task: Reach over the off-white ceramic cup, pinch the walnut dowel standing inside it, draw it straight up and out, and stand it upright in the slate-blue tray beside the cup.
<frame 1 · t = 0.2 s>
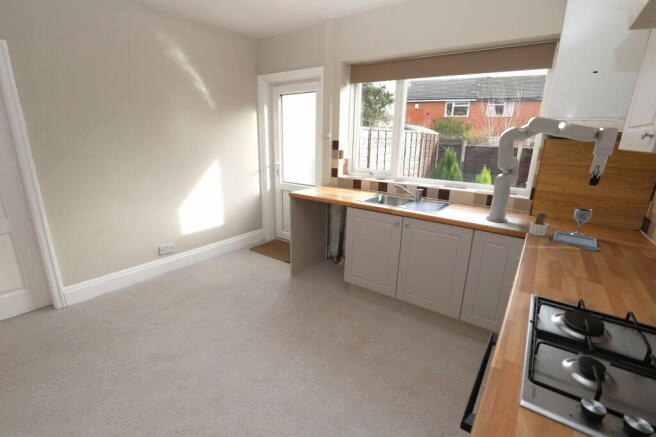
hand: (593, 184, 163), 31 cm above the worktop, tool pointing down, fingers open, 9 cm apart
tray: (573, 242, 165), on the worktop
dowel: (537, 233, 175), point 1 cm above the worktop, touching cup
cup: (536, 235, 175), on the worktop
wine glass: (577, 234, 179), on the worktop
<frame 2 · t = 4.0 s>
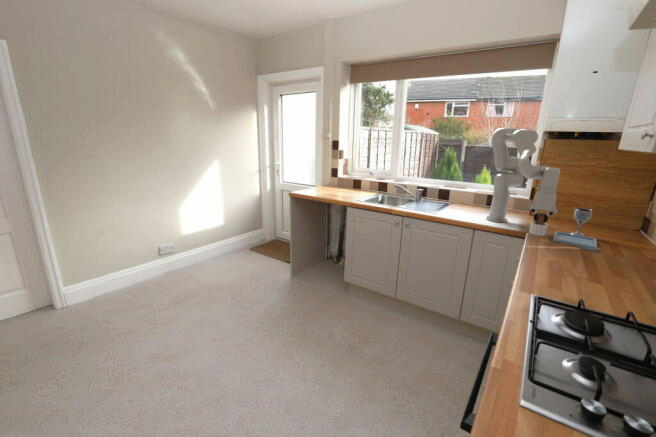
hand: (539, 221, 173), 8 cm above the worktop, tool pointing down, fingers closed on dowel, 4 cm apart
dowel: (537, 233, 175), point 1 cm above the worktop, touching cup, gripper
everything else where it was.
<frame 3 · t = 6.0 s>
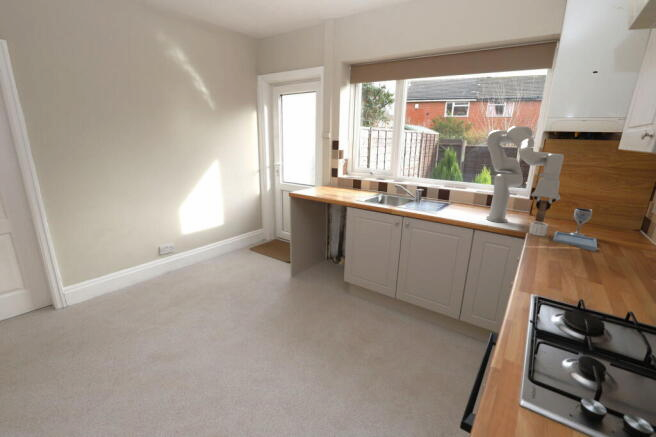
hand: (542, 208, 171), 16 cm above the worktop, tool pointing down, fingers closed on dowel, 4 cm apart
dowel: (539, 220, 173), point 8 cm above the worktop, touching gripper
everything else where it was.
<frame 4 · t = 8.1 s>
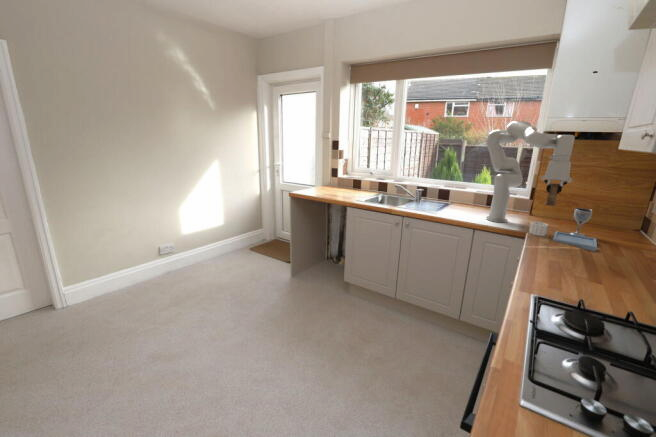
hand: (553, 192, 166), 26 cm above the worktop, tool pointing down, fingers closed on dowel, 4 cm apart
dowel: (550, 205, 168), point 18 cm above the worktop, touching gripper
everything else where it was.
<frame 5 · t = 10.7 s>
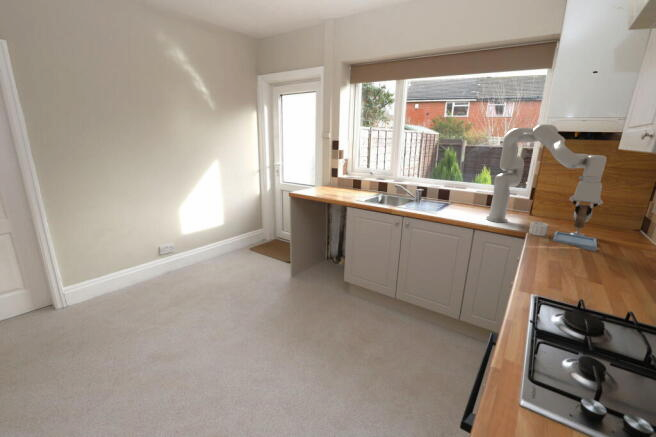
hand: (582, 213, 160), 16 cm above the worktop, tool pointing down, fingers closed on dowel, 4 cm apart
dowel: (578, 226, 162), point 9 cm above the worktop, touching gripper
everything else where it was.
when the fingers open (10 cm above the worktop, at t = 12.6 s): dowel drops 1 cm, resting on tray.
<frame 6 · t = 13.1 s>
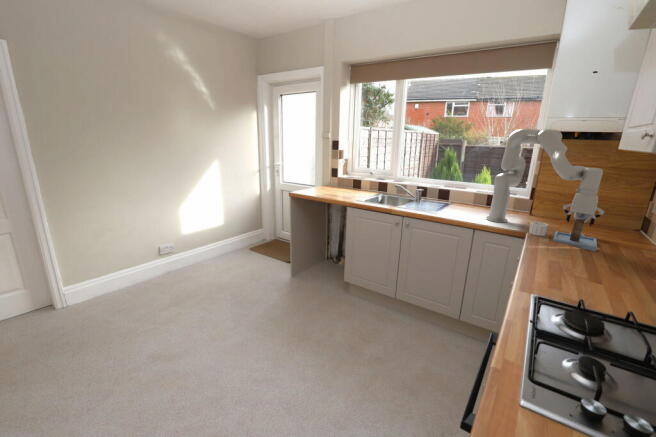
hand: (578, 223, 162), 11 cm above the worktop, tool pointing down, fingers open, 9 cm apart
dowel: (574, 240, 164), point 1 cm above the worktop, touching tray
everything else where it was.
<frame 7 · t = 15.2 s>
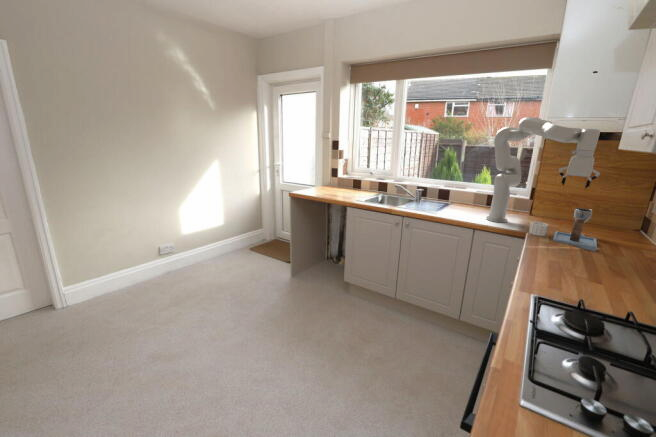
hand: (574, 186, 161), 30 cm above the worktop, tool pointing down, fingers open, 9 cm apart
nothing on the worktop moved.
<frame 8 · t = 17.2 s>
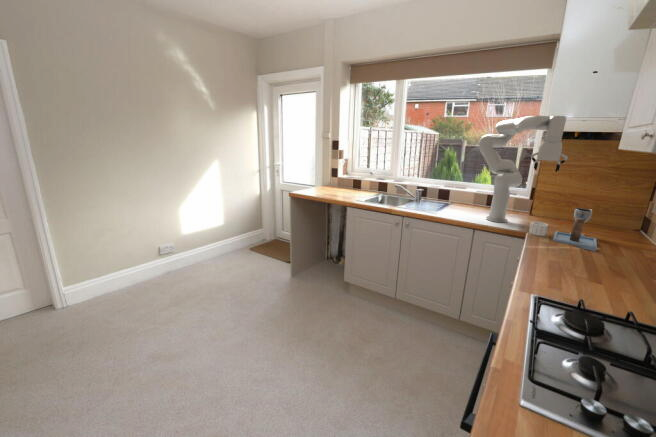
hand: (545, 170, 171), 36 cm above the worktop, tool pointing down, fingers open, 9 cm apart
nothing on the worktop moved.
at the end: dowel inside the target area on the tray (0.1 cm from its centre), point 1.2 cm above the tray's base; dowel tilted 0°; the gripper is holding nothing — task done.
